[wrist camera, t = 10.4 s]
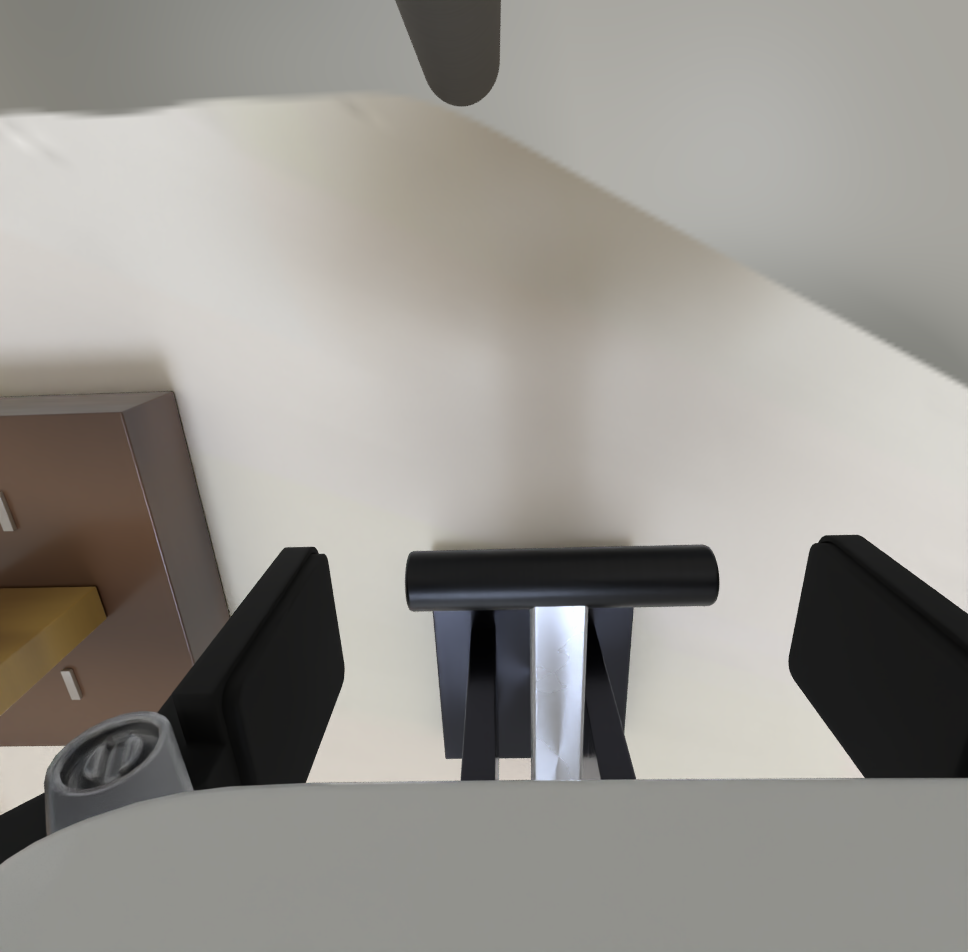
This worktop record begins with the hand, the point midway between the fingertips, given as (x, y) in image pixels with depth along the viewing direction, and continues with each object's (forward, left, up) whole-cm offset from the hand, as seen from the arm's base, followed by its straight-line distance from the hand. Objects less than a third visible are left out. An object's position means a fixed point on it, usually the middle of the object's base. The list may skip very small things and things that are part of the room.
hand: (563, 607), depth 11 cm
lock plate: (+5, -18, -11) cm, 21 cm away
